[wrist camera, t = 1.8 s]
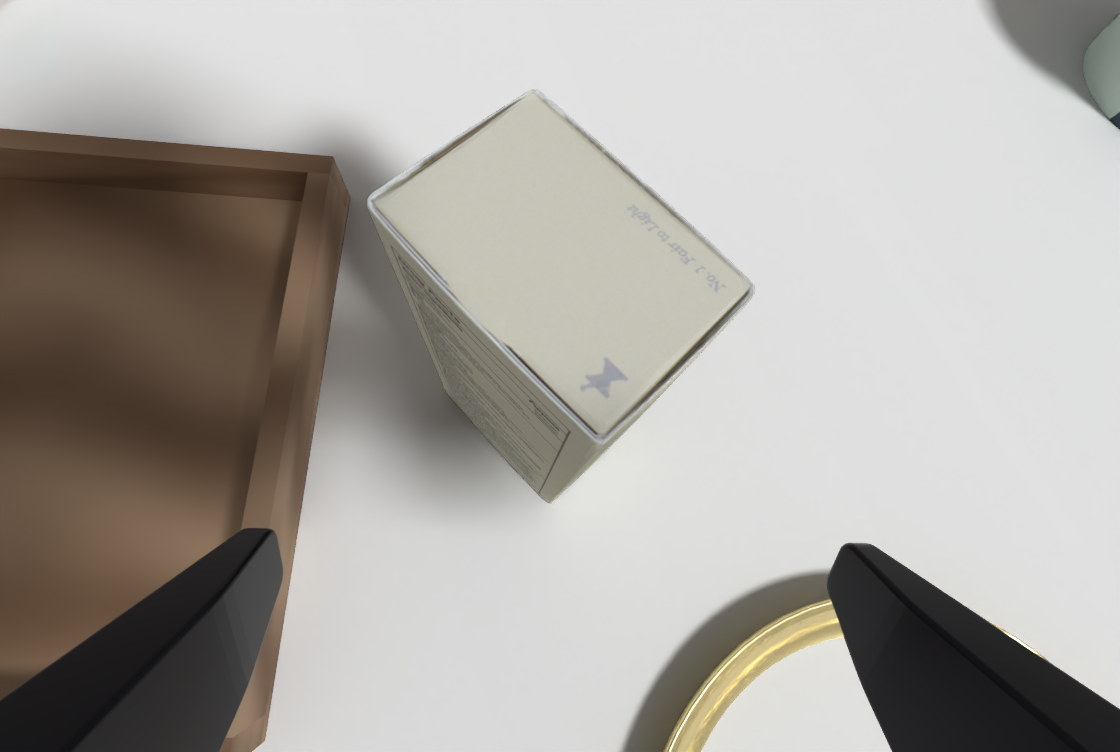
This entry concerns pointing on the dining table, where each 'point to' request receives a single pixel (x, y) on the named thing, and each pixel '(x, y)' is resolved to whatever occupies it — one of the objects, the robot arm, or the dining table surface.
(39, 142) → the walnut tray
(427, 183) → the skincare box
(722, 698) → the gold hoop ring
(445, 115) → the dining table surface
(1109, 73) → the food container
